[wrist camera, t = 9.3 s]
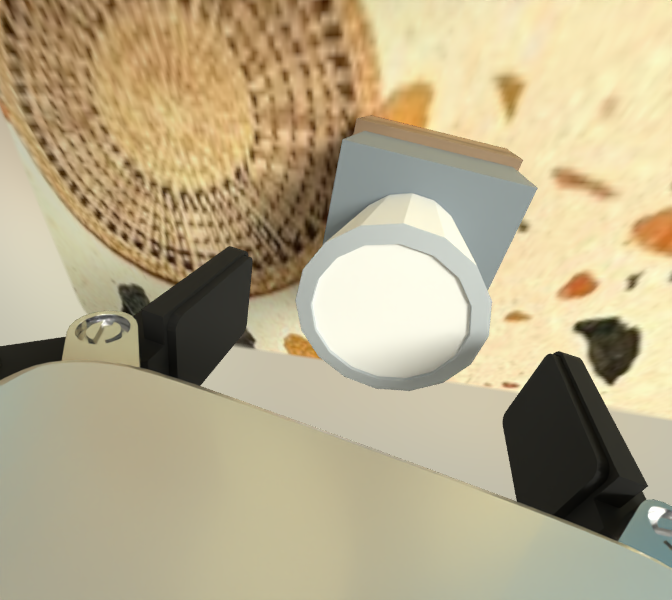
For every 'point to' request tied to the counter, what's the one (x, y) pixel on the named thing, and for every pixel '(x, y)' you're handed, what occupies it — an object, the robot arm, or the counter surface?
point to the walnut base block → (437, 140)
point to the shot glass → (395, 297)
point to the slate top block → (433, 191)
